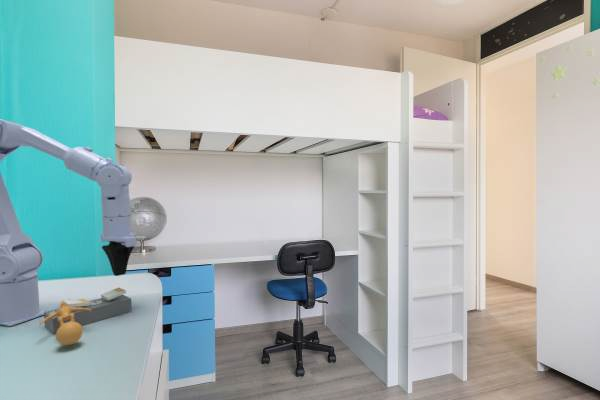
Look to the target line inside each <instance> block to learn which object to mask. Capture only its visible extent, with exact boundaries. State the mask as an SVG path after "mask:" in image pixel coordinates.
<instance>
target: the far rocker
mask: <svg viewBox="0 0 600 400" xmlns="http://www.w3.org/2000/svg"><path fill="white" fill-rule="evenodd" d="M124 294H127V291H126V289H124V288H121V287H117V288H114V289H112V290H111V289H110V290H109V291H107V292H104V293H102V294H101V295H100V298H104V299H106V300H111V299H113V298H116V299H117V298H118V297H119V296H120V295H124Z"/></svg>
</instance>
